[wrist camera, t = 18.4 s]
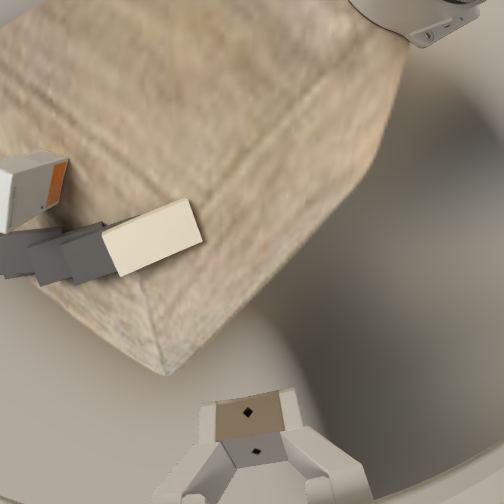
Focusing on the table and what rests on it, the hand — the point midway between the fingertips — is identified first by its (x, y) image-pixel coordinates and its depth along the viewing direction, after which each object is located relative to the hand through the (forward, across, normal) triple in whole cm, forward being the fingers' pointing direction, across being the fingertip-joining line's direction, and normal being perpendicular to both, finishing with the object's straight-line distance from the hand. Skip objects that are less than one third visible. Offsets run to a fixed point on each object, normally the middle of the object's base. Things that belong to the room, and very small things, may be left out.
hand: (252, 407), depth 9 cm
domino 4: (+28, +5, +1) cm, 28 cm away
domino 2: (+28, +16, +1) cm, 32 cm away
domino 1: (+27, +22, 0) cm, 35 cm away
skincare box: (+29, +21, -9) cm, 37 cm away
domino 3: (+28, +11, +2) cm, 30 cm away
